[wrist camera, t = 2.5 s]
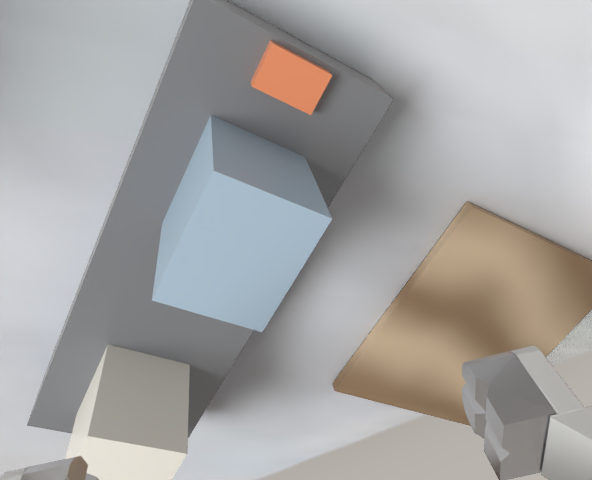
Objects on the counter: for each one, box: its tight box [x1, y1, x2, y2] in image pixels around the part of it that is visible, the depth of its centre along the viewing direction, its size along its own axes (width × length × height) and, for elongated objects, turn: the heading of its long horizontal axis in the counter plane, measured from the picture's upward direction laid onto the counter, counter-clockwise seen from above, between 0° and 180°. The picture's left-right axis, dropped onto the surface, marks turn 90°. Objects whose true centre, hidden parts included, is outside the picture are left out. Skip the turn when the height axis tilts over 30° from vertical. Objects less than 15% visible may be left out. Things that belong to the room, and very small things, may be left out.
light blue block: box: [152, 115, 332, 332], centre depth 19 cm, size 5×4×7 cm
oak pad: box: [333, 202, 592, 426], centre depth 31 cm, size 14×12×1 cm
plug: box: [65, 344, 190, 480], centre depth 24 cm, size 5×4×7 cm
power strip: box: [27, 0, 393, 438], centre depth 23 cm, size 22×8×4 cm, turn 152°
